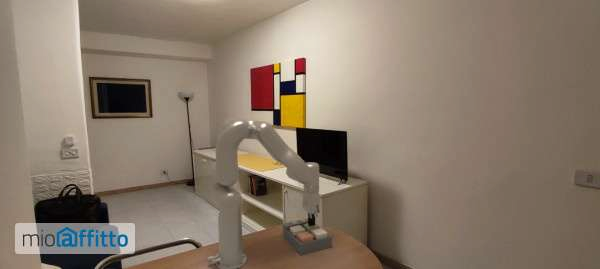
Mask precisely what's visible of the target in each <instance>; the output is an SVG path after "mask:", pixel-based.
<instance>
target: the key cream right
mask: <svg viewBox="0 0 600 269" xmlns="http://www.w3.org/2000/svg"><path fill="white" fill-rule="evenodd" d="M327 233H328V232H327V231H326V230H325V229H323V228H322V227H320V228H319V229H315V230H311V235H312V236H313V237H315V238H316V239H321V238H325V237H327Z"/></svg>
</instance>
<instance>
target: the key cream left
mask: <svg viewBox="0 0 600 269" xmlns="http://www.w3.org/2000/svg"><path fill="white" fill-rule="evenodd" d="M290 232H291V233H292V234H293V235H294V236H297V234H298V233H302V232H305V229H304V228H303V227H302V226H301V225H298V226H294V227H290Z"/></svg>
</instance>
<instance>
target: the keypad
mask: <svg viewBox="0 0 600 269" xmlns="http://www.w3.org/2000/svg"><path fill="white" fill-rule="evenodd" d="M307 223H308V217H306V218H302V219H298V220H292V221H288V222H283V223H282V236H283V237H282V238H284V240H285V241H286V242H287V243H288V244H289V245H290V246H291V247H292V248H293V249H294V250H295V251H296V252H297V253H298V254H299V255H300V256H304V255H307V254H311V253H315V252H318V251H322V250H326V249H330V248H332V247H333V246H332V245H333V238H332V237H333V236H331V235H330V234H329V233H328V232H327V237H325V238H321V239H316V238H315V237H313V241H309V242H305V243H301V242H300V241H299V240H298V239H297V236H294V235H293V234H292V233H291V232H290V227H294V226H298V225H301V226H302V227H303V228H304V224H307ZM319 228H321V227H320V226H319ZM305 232H306V230H305ZM310 234H311V232H310Z"/></svg>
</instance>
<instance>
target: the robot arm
mask: <svg viewBox="0 0 600 269" xmlns="http://www.w3.org/2000/svg"><path fill="white" fill-rule="evenodd" d="M221 131H222V132H221V134H219V137H218V139H217V141H216V144H215V161H214V162H213V163H212V165H211V167H210V172H209V176H210V177H209V178H210V191H211V197H212V200H213V202H214V203H215V204H216V205H217V207H218V216H217V217H218V218H217V228H218V251H217V253H216V254H215V255H213V256H212V255H210V256H207V262H208V263H210V262H211V264H215V265H216V268H218V269H240V268H242V267H243V266H245V264H247V259H248V258H247V255H246V254H245V253H243V252H244V251H243V250H244V246H243V245H244V244H243V219H242V218H243V208H244V207H243V206H244V200H243V196H242V194H241V193H240V192H239V191H238V190H237V189H236V188H235V187H234V185H235V184H236V183H237V182H238V180H239V174H240V172H239V160H238V151H239V150H238V149H239V147H240V144H241V143H242V142H243V141H244V140H256V141H257V142H259V143H260V144H261V146H262V147H263V148H264V149H265V151H266V152H267V153H268V154H269V155H270V156H271V158H272V159H274V160H275V161H276V162H277V163H279V164H281V165H283V166H284V167H285V168H286V170H285V171H286V172H285V174H286V175H287V177H288V178H289V179H290V180H293V181H295V182H298V183H300V184H303V192H302V203H301V206H302V209H303V210H304V211H305V212H306V214H307V218H308V225H309V226H313V225H315V224H316V218H318V217H319V213H320V212H321V200H320V199H321V198H320V165H319V164H318V162H314V161H313V162H309V161H308V162H305V160H303V159H302V157H301V156H300V155H299V154H297V153H296V152H295V151H294V150H293V149H292V148H291V146H289V145H288V143H286V142H285V141H284V139H283V138H282V137H281V136H280V134H279V133H278V131H277V130H276V129H275V128H274V127H273V125H272V124H270V123H269V122H267V121H262V120H261V121H260V120H249V119H239V118H232V117H231V118H228V119H225V121H224V122H223V123H222V126H221Z"/></svg>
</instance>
